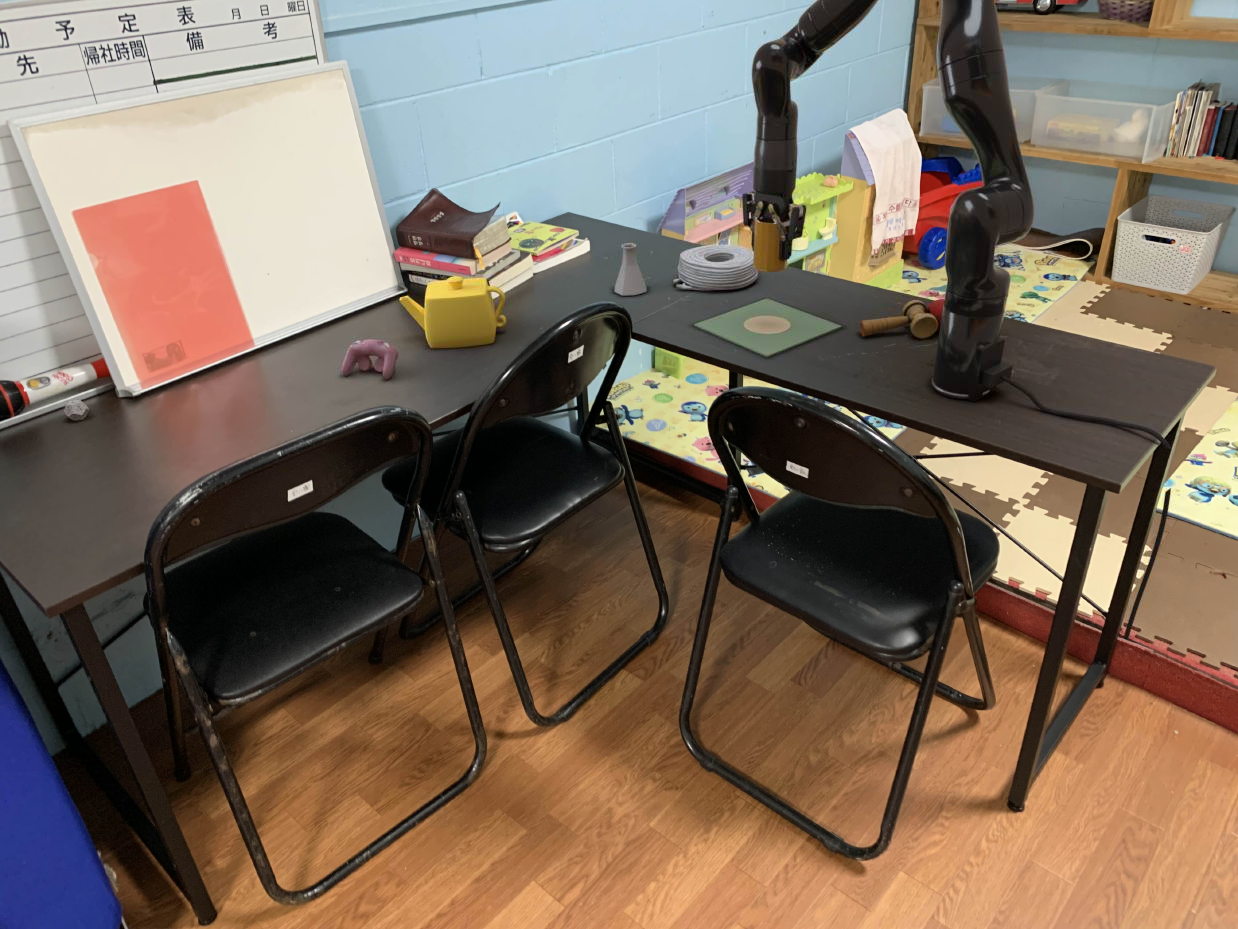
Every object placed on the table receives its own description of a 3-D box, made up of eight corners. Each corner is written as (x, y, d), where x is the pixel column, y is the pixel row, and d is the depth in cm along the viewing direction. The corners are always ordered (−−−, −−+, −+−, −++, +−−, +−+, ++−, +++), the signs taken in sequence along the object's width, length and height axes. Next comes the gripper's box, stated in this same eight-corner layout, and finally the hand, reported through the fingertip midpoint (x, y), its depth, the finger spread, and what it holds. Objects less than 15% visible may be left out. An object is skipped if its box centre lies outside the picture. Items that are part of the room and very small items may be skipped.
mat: (841, 327, 177) (841, 325, 177) (767, 357, 167) (767, 355, 167) (766, 300, 191) (766, 297, 191) (694, 326, 181) (694, 323, 181)
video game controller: (400, 380, 169) (402, 341, 168) (387, 379, 165) (390, 340, 164) (352, 376, 172) (354, 338, 171) (338, 375, 167) (340, 336, 167)
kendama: (870, 352, 170) (966, 332, 170) (867, 318, 168) (964, 298, 168) (857, 342, 177) (950, 323, 177) (854, 310, 175) (948, 290, 175)
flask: (609, 287, 201) (607, 242, 196) (641, 282, 203) (639, 238, 198) (619, 298, 195) (617, 252, 190) (651, 293, 197) (650, 247, 192)
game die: (85, 411, 161) (79, 395, 159) (94, 416, 158) (88, 401, 157) (64, 419, 158) (58, 403, 157) (73, 425, 156) (67, 409, 155)
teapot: (404, 353, 176) (393, 294, 170) (409, 327, 186) (399, 271, 180) (509, 344, 177) (502, 285, 171) (508, 319, 188) (502, 263, 182)
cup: (793, 266, 172) (796, 218, 167) (770, 274, 169) (772, 225, 164) (769, 258, 176) (771, 211, 171) (746, 266, 173) (747, 218, 168)
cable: (669, 290, 198) (668, 263, 195) (687, 263, 212) (687, 238, 209) (750, 296, 193) (751, 268, 190) (763, 268, 207) (764, 242, 204)
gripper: (731, 159, 166) (729, 250, 174) (790, 174, 156) (785, 269, 164) (761, 152, 169) (757, 241, 178) (820, 165, 159) (814, 259, 168)
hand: (771, 254), depth 171 cm, fingers closed on cup, 6 cm apart
